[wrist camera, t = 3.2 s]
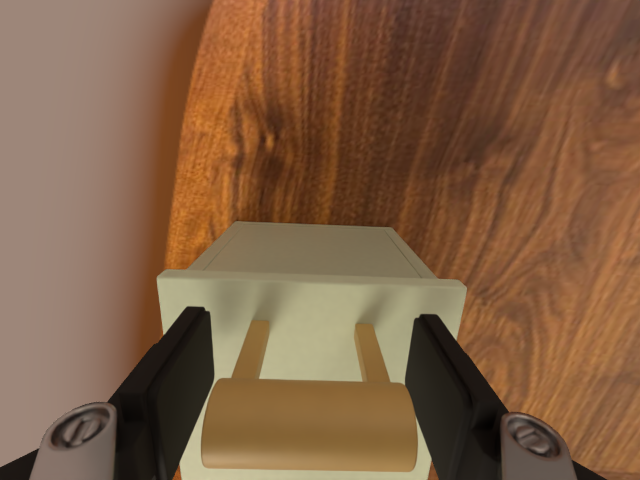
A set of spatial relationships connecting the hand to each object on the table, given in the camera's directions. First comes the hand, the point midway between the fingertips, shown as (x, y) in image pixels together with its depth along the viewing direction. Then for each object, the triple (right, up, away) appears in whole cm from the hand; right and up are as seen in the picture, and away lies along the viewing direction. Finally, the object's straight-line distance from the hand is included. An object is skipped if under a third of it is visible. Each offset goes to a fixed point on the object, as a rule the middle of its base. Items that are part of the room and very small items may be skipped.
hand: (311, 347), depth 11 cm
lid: (0, -4, +3) cm, 6 cm away
